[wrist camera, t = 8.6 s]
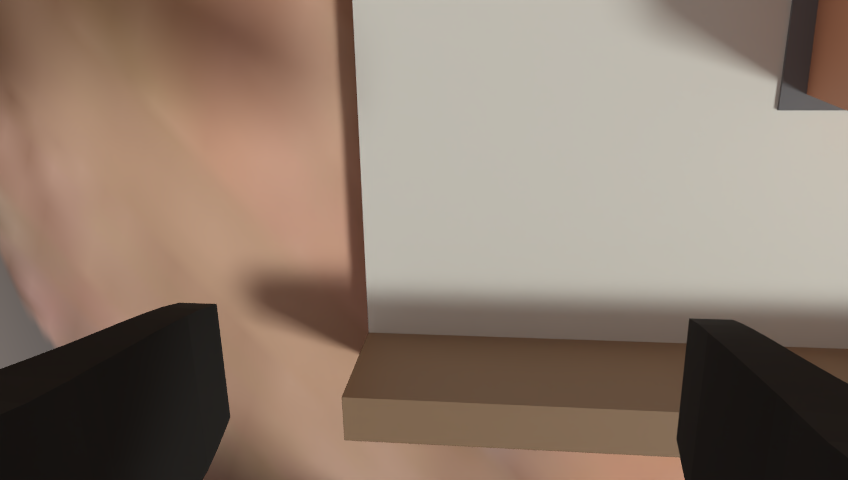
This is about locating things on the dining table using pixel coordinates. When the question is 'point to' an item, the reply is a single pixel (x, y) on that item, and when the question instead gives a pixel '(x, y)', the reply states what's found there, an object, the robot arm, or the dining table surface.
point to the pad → (800, 60)
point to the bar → (830, 54)
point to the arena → (582, 215)
